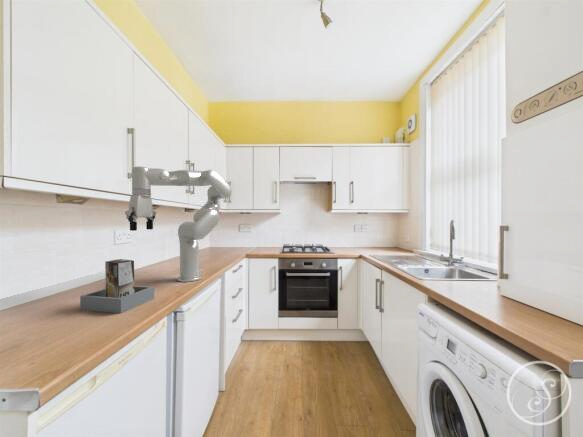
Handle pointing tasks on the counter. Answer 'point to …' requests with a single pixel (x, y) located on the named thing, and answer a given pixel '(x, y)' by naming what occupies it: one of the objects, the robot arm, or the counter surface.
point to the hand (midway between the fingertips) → (141, 229)
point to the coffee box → (119, 278)
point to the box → (116, 300)
